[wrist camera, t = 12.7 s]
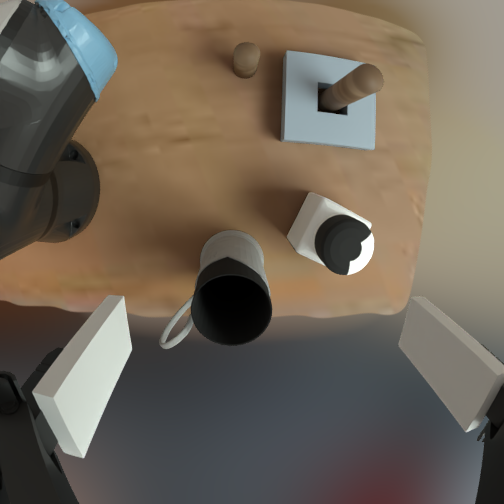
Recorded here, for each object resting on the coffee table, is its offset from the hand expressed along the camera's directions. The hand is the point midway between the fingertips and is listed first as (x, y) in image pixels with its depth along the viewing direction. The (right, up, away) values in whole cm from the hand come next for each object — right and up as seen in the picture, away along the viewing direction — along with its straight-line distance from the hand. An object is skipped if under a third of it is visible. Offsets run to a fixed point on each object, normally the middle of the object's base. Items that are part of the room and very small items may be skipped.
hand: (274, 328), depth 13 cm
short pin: (-2, +27, +22) cm, 35 cm away
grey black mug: (-6, 0, +30) cm, 30 cm away
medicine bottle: (+8, +7, +29) cm, 31 cm away
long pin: (+9, +23, +24) cm, 34 cm away
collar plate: (+9, +23, +24) cm, 34 cm away
